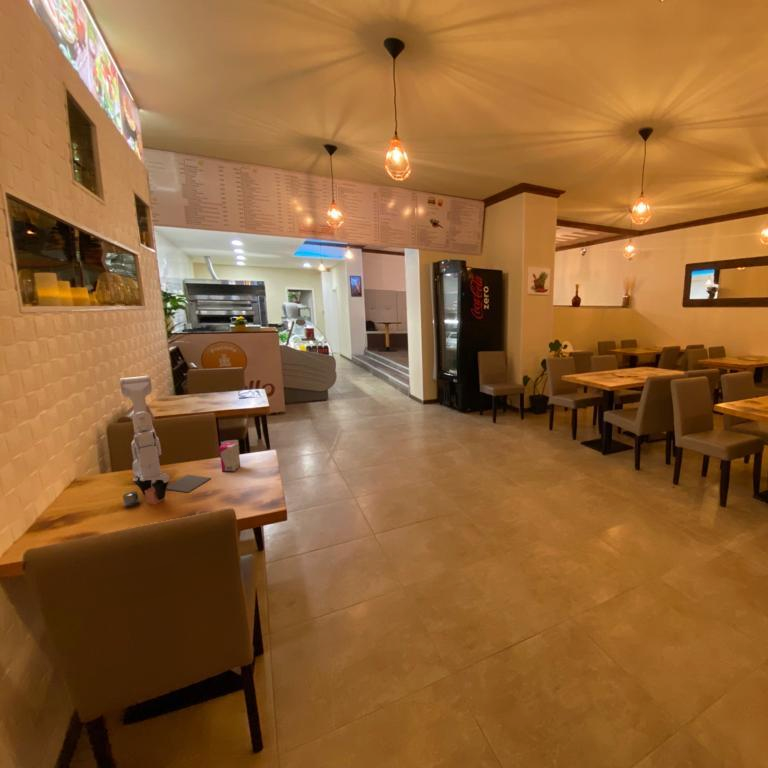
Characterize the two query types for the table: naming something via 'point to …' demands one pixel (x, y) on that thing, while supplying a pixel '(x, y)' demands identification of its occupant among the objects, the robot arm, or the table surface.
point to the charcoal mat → (187, 483)
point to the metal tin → (131, 499)
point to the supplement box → (229, 457)
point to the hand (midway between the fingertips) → (155, 497)
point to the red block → (152, 496)
